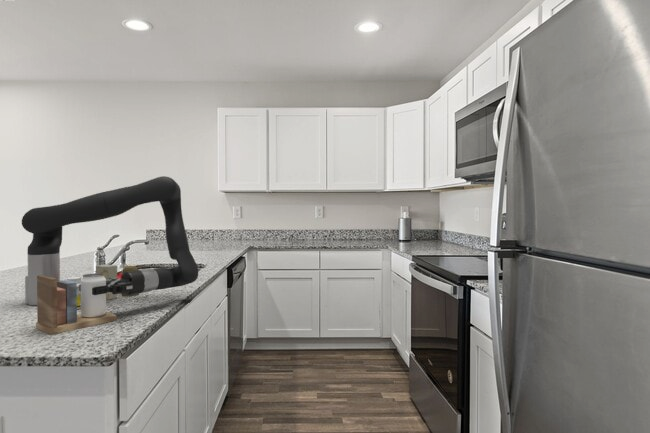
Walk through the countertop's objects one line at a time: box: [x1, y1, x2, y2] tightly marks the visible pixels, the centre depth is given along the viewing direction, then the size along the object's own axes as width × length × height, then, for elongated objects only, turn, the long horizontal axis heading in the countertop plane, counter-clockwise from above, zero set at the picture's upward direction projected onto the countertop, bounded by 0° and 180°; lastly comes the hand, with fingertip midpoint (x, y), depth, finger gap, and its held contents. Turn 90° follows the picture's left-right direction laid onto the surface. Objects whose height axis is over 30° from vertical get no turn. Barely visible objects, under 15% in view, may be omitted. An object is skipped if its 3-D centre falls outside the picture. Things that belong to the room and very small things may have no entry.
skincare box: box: [95, 264, 118, 301], centre depth 148 cm, size 6×4×12 cm
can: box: [80, 272, 107, 318], centre depth 120 cm, size 6×6×12 cm
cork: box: [121, 265, 140, 297], centre depth 155 cm, size 6×6×11 cm
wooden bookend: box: [35, 275, 117, 336], centre depth 116 cm, size 17×10×14 cm, turn 144°
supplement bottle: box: [66, 276, 82, 310], centre depth 134 cm, size 6×6×10 cm
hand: (86, 289), depth 118 cm, fingers open, 8 cm apart
